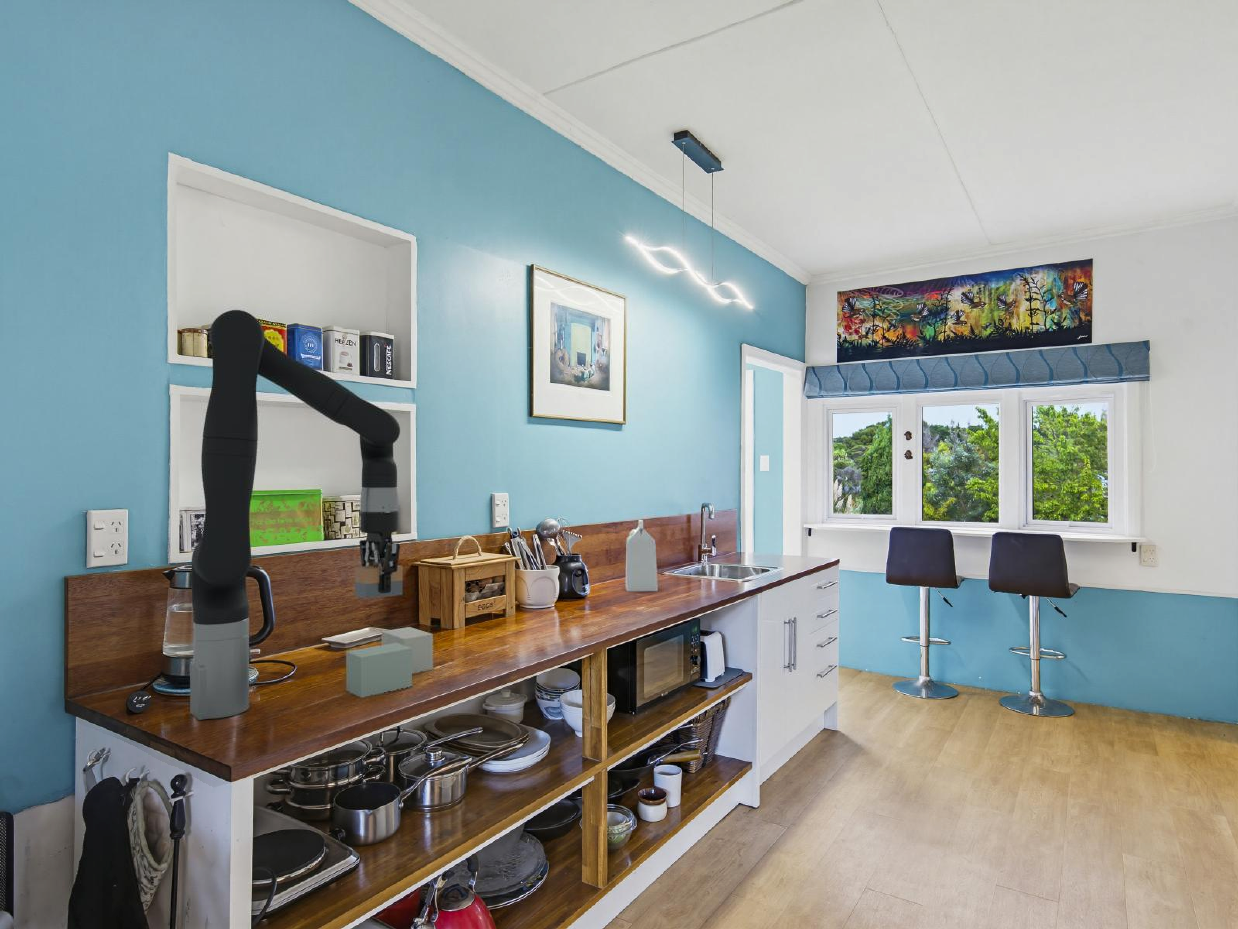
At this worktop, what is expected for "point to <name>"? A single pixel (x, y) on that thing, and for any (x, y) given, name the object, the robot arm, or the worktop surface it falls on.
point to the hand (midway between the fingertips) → (378, 590)
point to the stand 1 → (378, 669)
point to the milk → (641, 561)
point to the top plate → (375, 574)
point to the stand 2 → (413, 646)
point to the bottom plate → (377, 590)
